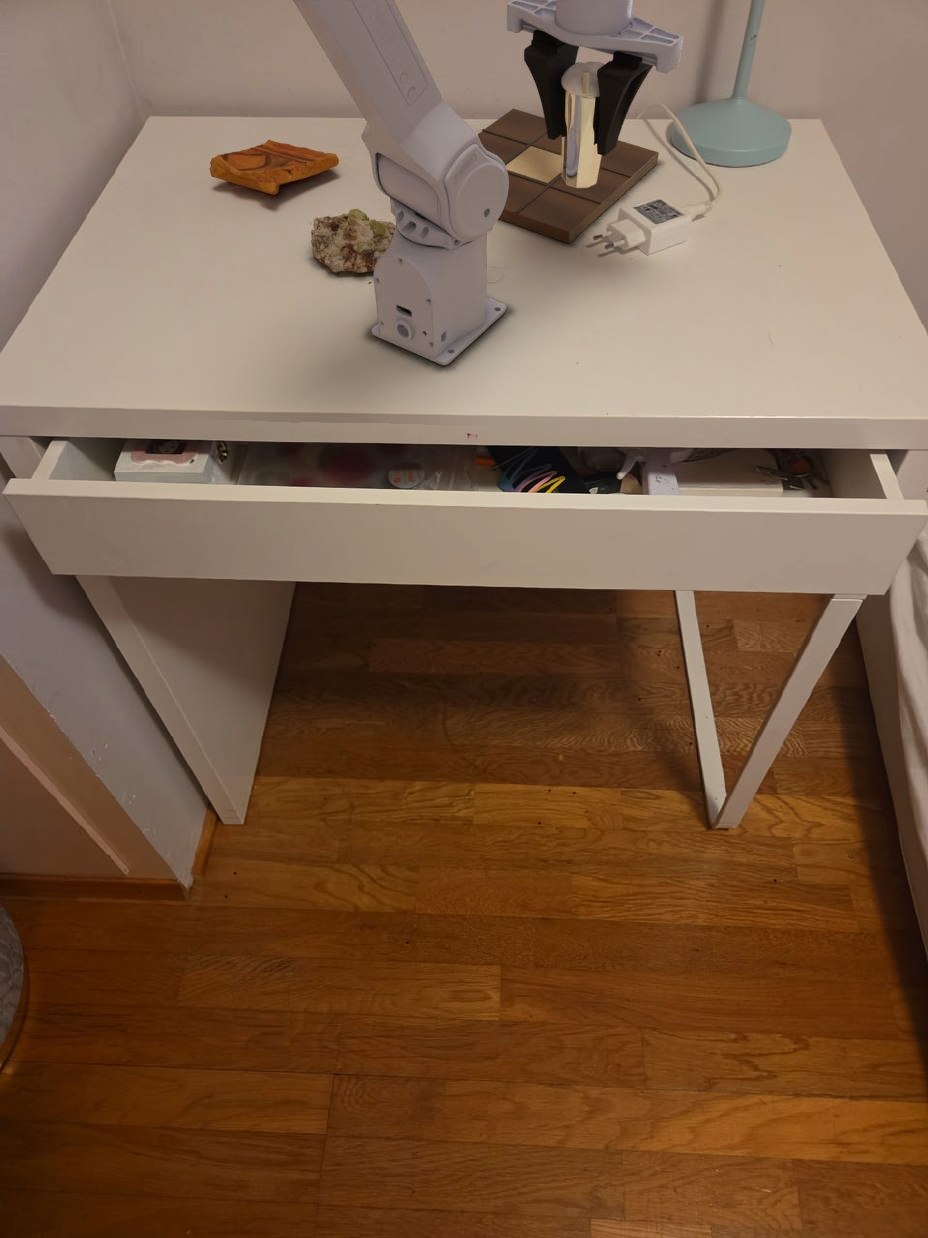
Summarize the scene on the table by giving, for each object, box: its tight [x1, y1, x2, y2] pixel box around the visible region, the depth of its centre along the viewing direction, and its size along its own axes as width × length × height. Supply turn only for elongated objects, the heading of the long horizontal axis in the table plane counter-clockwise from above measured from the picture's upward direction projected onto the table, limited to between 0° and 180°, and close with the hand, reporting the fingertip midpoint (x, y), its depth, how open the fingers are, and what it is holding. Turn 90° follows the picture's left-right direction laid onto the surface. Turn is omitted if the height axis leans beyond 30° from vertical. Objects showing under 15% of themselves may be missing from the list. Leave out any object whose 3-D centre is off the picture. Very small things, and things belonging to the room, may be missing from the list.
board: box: [476, 108, 660, 244], centre depth 91 cm, size 18×18×1 cm
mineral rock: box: [310, 208, 396, 274], centre depth 82 cm, size 11×4×8 cm
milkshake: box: [561, 60, 606, 188], centre depth 74 cm, size 4×5×10 cm
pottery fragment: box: [208, 139, 340, 196], centre depth 90 cm, size 10×5×10 cm
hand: (582, 142), depth 75 cm, fingers closed on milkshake, 4 cm apart
